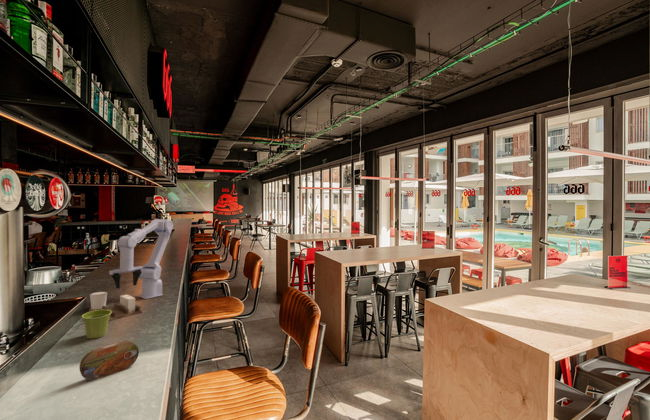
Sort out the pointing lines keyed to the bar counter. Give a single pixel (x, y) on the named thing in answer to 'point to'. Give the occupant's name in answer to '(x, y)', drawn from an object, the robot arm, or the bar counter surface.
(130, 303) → the cream rectangular block
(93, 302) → the shot glass
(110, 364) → the tin
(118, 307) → the rack
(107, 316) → the plant pot
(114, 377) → the bar counter surface
